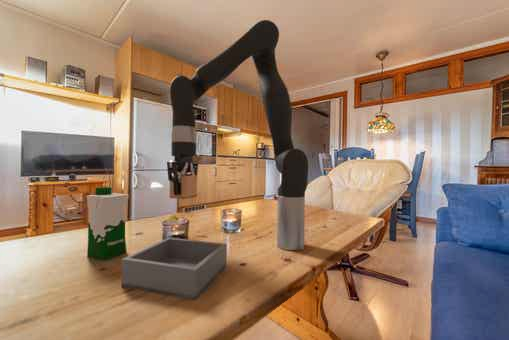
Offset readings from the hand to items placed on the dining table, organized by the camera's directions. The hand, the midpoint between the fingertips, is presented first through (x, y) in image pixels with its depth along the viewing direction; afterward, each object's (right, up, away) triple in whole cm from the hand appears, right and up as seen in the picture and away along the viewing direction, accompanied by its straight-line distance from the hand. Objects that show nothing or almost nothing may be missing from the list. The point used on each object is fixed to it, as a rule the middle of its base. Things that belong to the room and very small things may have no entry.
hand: (183, 193), depth 69 cm
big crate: (+5, -18, -17) cm, 25 cm away
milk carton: (-21, -18, -5) cm, 28 cm away
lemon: (-9, -18, +15) cm, 25 cm away
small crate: (0, -1, 0) cm, 1 cm away
